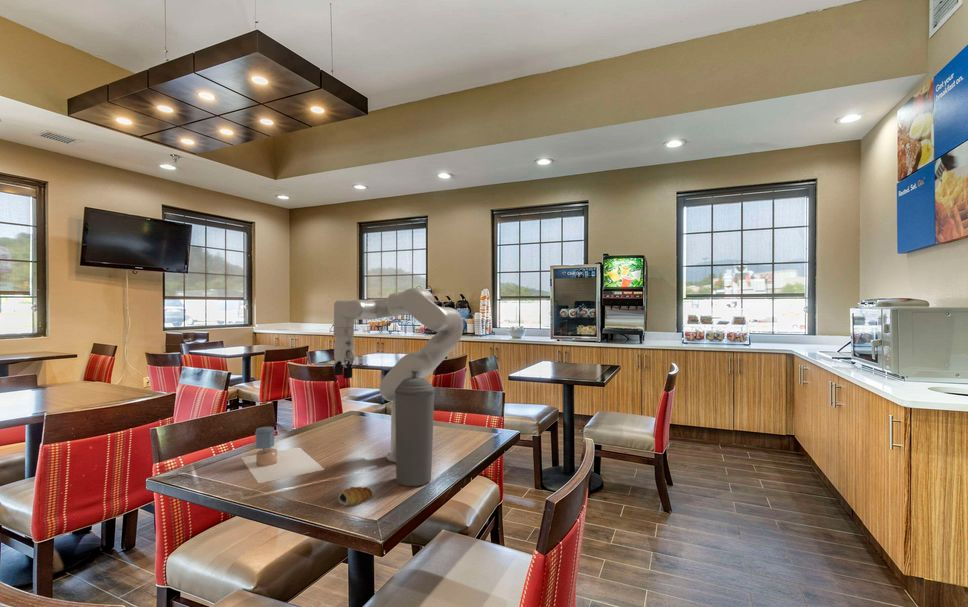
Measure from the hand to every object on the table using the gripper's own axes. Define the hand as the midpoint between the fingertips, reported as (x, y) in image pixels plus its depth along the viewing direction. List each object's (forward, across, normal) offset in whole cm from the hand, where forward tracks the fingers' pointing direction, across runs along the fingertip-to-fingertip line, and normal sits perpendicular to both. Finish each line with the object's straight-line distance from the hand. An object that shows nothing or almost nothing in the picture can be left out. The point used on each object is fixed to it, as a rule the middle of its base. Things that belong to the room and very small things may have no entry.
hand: (343, 376), depth 171 cm
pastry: (+29, -47, +14) cm, 57 cm away
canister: (+28, -44, -7) cm, 53 cm away
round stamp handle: (+27, -2, +27) cm, 38 cm away
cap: (+21, -2, +28) cm, 35 cm away
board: (+28, -5, +23) cm, 37 cm away
